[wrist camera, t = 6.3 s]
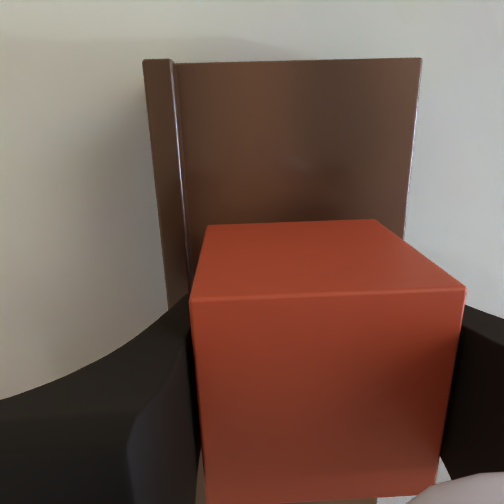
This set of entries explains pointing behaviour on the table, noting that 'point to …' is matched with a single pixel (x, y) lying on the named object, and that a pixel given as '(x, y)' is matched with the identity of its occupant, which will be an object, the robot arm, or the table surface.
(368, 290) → the block
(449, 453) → the robot arm
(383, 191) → the shelf
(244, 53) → the table surface
